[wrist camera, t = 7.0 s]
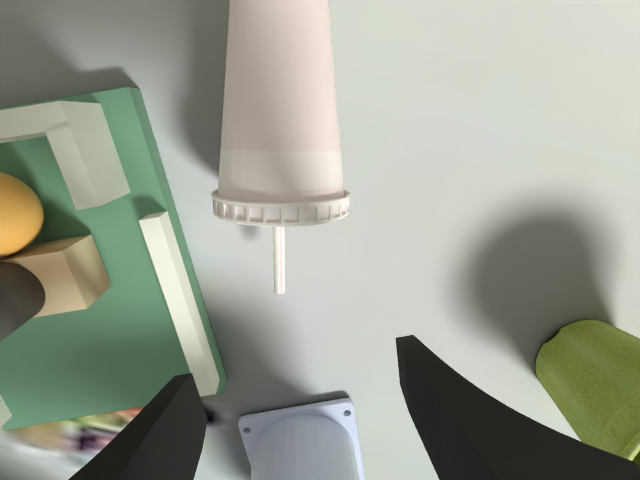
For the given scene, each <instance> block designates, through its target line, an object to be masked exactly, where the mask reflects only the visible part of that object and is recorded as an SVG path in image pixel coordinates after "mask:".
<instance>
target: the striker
mask: <svg viewBox="0 0 640 480" xmlns="http://www.w3.org/2000/svg"><path fill="white" fill-rule="evenodd" d="M110 287H111V283H110V281H109V278H108V276H107V273H106V270H105V268H104V265H103V263H102V260H101V258H100V255H99V253H98V250H97V248H96V245H95V243H94V240H93V238H92V235H91V234H90V235H84V236H78V237H72V238H66V239H60V240H54V241H49V242H43V243H37V244H31V245H28V246H27V247H26V248H24V249H22V250H21V251H19V252H17V253H14V254H12V255H9V256H5V257H1V258H0V342H1V341H2V340H3V339H5V338H6V337H7V336H9V335H10V334H11V333H13V332H14V331H15V330H17V329H18V328H19V327H21V326H22V325H23V324H24V323H26V322H27V321H28V320H30V319H31V318H34V317H40V316H46V315H52V314H58V313H64V312H70V311H76V310H82V309H87V308H88V307H89V306H90V305H91V304H93V303H94V302H95V301H96V300H97V299H98V298H99V297H100V296H101V295H102V294H103V293H105V292H106V291H107V290H108V289H109V288H110Z"/></svg>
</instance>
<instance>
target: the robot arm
mask: <svg viewBox="0 0 640 480" xmlns="http://www.w3.org/2000/svg"><path fill="white" fill-rule="evenodd" d="M396 346H397V356H398V367H399V377H400V385H401V389H402V392H403V395H404V398H405V401H406V404H407V407H408V410H409V413H410V415H411V418H412V420H413V422H414V424H415V427H416V429H417V431H418V433H419V436H420V438H421V440H422V442H423V444H424V447H425V449H426V451H427V453H428V455H429V458H430V460H431V462H432V464H433V466H434V469H435V471H436V473H437V475H438V478H439V480H640V467H639V466H638V465H637V464H636V463H635V462H634V461H631V460H629V459H626V458H623V457H620V456H618V455H615V454H612V453H609V452H607V451H604V450H601V449H599V448H596V447H593V446H590V445H588V444H585V443H583V442H580V441H578V440H576V439H574V438H571V437H569V436H567V435H564V434H562V433H560V432H557V431H555V430H553V429H551V428H549V427H547V426H544V425H542V424H540V423H538V422H536V421H534V420H532V419H531V418H529V417H527V416H525V415H523V414H521V413H519V412H517V411H515V410H513V409H512V408H510V407H508V406H506V405H505V404H503V403H501V402H500V401H498V400H496V399H495V398H493V397H491V396H490V395H488V394H487V393H485V392H484V391H482V390H481V389H479V388H478V387H476V386H475V385H474V384H472V383H471V382H469V381H468V380H467V379H465V378H464V377H463V376H461V375H460V374H459V373H457V372H456V371H455V370H454V369H452V368H451V367H450V366H448V365H447V364H446V363H445V362H444V361H442V360H441V359H440V358H439V357H438V356H436V355H435V354H434V353H433V352H432V351H431V350H430V349H428V348H427V347H426V346H425V345H424V344H423V343H422V342H421V341H420V340H418V339H417V338H416V337H415V336H414V335H410V336H404V337H398V338H396ZM346 410H349V411H347V412H345V411H346ZM206 424H207V415H206V412H205V409H204V407H203V404H202V401H201V398H200V395H199V392H198V389H197V386H196V383H195V380H194V377H193V374H192V373H188V374H182V375H177V376H174V377H173V378H172V379H171V380H170V381H169V382H168V383H167V384H166V385H165V386H164V387H163V388H162V389H161V390H160V391H159V392H158V394H157V395H156V396H155V397H154V398H153V399H152V400H151V401H150V402H149V403H148V404H147V405H146V406H145V407H144V408H143V409H142V410H141V412H140V413H139V414H138V415H137V416H136V417H135V418H134V419H133V420H132V421H131V422H130V423H129V424H128V425H127V426H126V427H125V428H124V429H123V430H122V431H121V432H120V433H119V434H118V435H117V436H116V437H115V438H114V439H113V440H112V441H111V442H110V443H109V444H108V445H107V446H106V447H105V448H104V449H103V450H102V451H100V452H99V453H98V454H97V455H96V456H95V457H94V458H93V459H92V460H91V461H89V462H88V463H87V464H86V465H85V466H84V467H83V468H81V469H80V470H79V471H78V472H77V473H76V474H74V475H73V476H72V477H71V478H70V479H69V480H193V479H194V476H195V472H196V469H197V465H198V462H199V459H200V455H201V451H202V448H203V442H204V436H205V430H206ZM238 427H239V431H240V434H241V437H242V440H243V444H244V447H245V450H246V453H247V457H248V460H249V463H250V467H251V470H252V471H251V479H250V480H365V477H364V471H363V464H362V458H361V452H360V445H359V439H358V432H357V426H356V420H355V413H354V407H353V402H352V400H351V399H349V398H342V399H337V400H331V401H325V402H319V403H313V404H308V405H302V406H296V407H290V408H285V409H279V410H273V411H267V412H261V413H256V414H250V415H244V416H241V417H240V418H239V421H238ZM246 428H249V429H246Z"/></svg>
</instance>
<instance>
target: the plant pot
mask: <svg viewBox="0 0 640 480" xmlns="http://www.w3.org/2000/svg"><path fill="white" fill-rule="evenodd" d="M536 375H537V377H538V380H539V381H540V383H541V384H542V386H543V387H544V388H545V390H546V391H547V393H548V394H549V396H550V397H551V398H552V400H553V401H554V403H555V404H556V406H557V407H558V408H559V410H560V411H561V413H562V414H563V416H564V417H565V418H566V420H567V421H568V423H569V424H570V426H571V427H572V429H573V430H574V431H575V433H576V434H577V436H578V437H579V439H580V440H581V442H583V443H585V444H588V445H590V446H593V447H596V448H599V449H601V450H604V451H607V452H609V453H612V454H615V455H618V456H620V457H623V458H626V459H629V460H631V461H634V462H635V463H636V464H637V465H638V466H639V467H640V339H639V338H637V337H635V336H633V335H631V334H629V333H627V332H625V331H622V330H620V329H618V328H616V327H614V326H612V325H610V324H607V323H605V322H602V321H598V320H582V321H577V322H574V323H571V324H568V325H566V326H564V327H562V328H561V329H560V331H559V333H558V334H557V335H556V336H555V337H554V338H553V339H552V340H550V341H548V342H546V343H544V344H543V345H542V347H541V349H540V351H539V353H538V355H537V359H536Z"/></svg>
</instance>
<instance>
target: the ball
mask: <svg viewBox="0 0 640 480" xmlns="http://www.w3.org/2000/svg"><path fill="white" fill-rule="evenodd" d="M43 221H44V211H43V207H42V204H41V202H40V200H39V198H38V196H37V195H36V194H35V192H34V191H33V190H32V189H31V188H30V187H29V186H28V185H26V184H25V183H24V182H22V181H21V180H19V179H17V178H15V177H13V176H11V175H9V174H6V173H2V172H0V258H1V257H5V256H9V255H12V254H14V253H17V252H19V251H21V250H22V249H24V248H26V247H27V246H28V245H29V244H31V243H32V242H33V241H34V240H35V239H36V237H37V236H38V234H39V233H40V231H41V228H42V225H43Z"/></svg>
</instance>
